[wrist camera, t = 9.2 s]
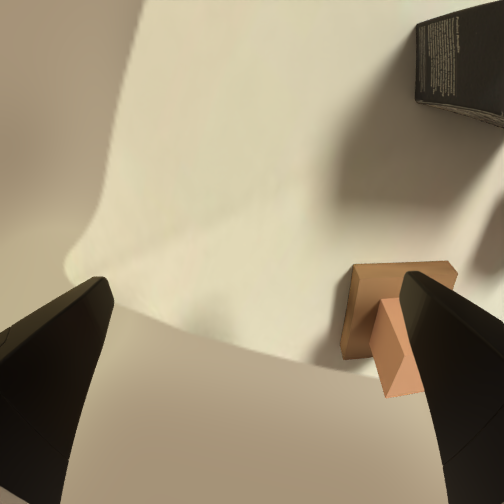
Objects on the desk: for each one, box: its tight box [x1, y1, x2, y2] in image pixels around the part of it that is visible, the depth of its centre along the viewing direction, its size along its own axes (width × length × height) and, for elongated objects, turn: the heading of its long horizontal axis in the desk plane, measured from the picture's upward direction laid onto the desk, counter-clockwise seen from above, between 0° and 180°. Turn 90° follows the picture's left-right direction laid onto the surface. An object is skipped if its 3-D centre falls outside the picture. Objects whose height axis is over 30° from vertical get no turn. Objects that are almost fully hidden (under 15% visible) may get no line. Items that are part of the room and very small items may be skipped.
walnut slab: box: [340, 261, 458, 360], centre depth 24 cm, size 9×9×2 cm
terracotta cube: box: [369, 298, 424, 398], centre depth 21 cm, size 5×5×6 cm
